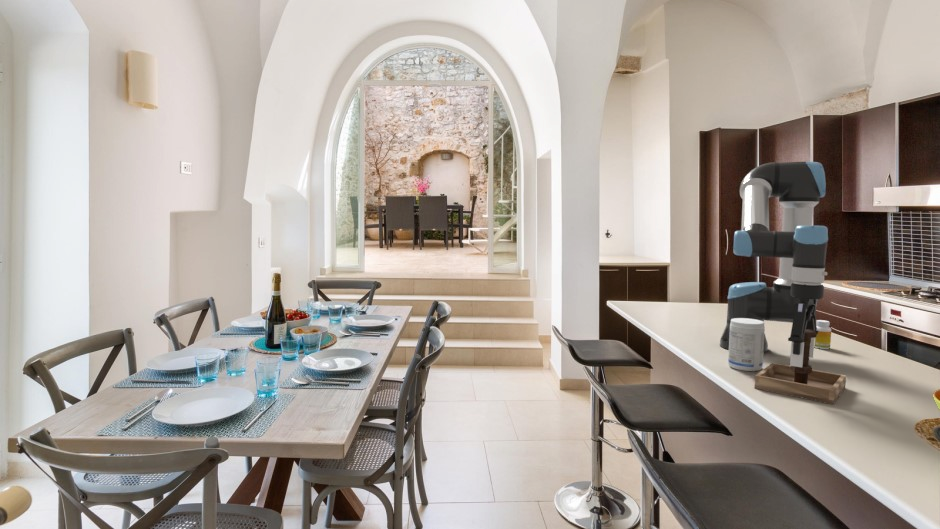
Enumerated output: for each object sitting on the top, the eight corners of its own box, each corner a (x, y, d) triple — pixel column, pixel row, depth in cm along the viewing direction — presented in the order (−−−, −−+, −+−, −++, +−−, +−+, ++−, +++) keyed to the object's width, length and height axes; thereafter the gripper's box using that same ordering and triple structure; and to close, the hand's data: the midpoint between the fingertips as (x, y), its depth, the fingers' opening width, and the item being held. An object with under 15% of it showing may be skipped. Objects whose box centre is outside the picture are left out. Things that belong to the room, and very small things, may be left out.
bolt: (815, 388, 144) (819, 332, 142) (794, 387, 145) (797, 331, 143) (806, 382, 149) (810, 328, 148) (786, 380, 150) (789, 327, 149)
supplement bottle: (833, 349, 191) (835, 322, 190) (818, 349, 191) (820, 322, 190) (823, 346, 197) (825, 319, 196) (808, 345, 197) (810, 319, 196)
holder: (771, 374, 160) (772, 362, 159) (845, 388, 148) (846, 375, 147) (754, 388, 147) (755, 375, 146) (833, 404, 134) (834, 390, 134)
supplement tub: (744, 362, 173) (747, 317, 171) (769, 370, 164) (773, 322, 162) (720, 364, 169) (723, 318, 168) (745, 373, 160) (748, 324, 159)
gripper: (814, 288, 133) (808, 373, 135) (832, 280, 151) (826, 355, 153) (780, 285, 138) (774, 367, 140) (801, 278, 156) (796, 350, 158)
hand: (801, 361), depth 146 cm, fingers open, 13 cm apart
